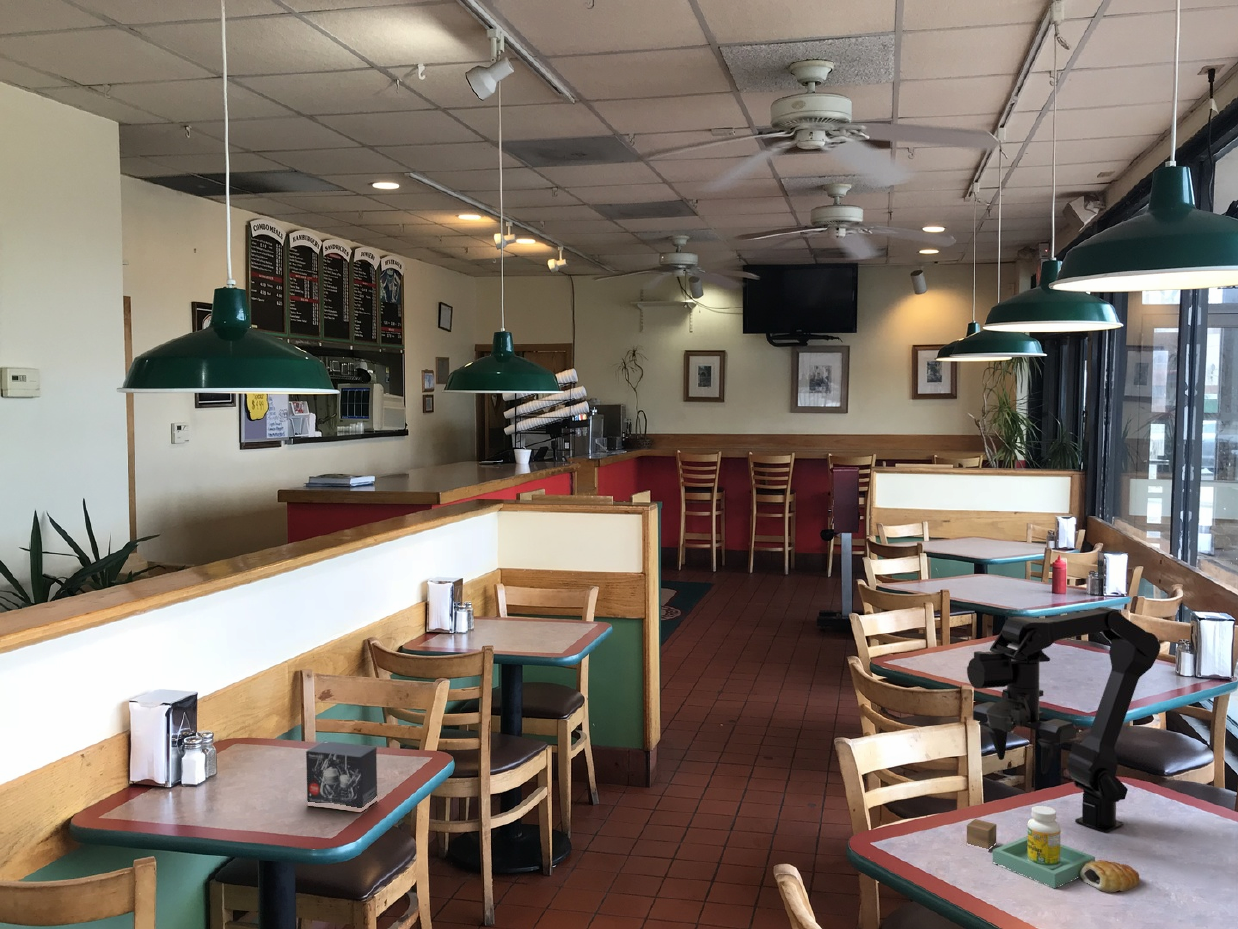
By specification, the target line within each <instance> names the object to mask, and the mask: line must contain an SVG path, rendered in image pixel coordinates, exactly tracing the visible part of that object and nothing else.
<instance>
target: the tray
mask: <svg viewBox="0 0 1238 929" xmlns="http://www.w3.org/2000/svg"><path fill="white" fill-rule="evenodd" d="M1027 840H1028V835H1027V836H1024V837H1022V838H1019V839H1017V840H1014V841H1012V842H1009V843H1006V844H1004V845H1000V846H999V847H996V848H992V863H993V862H995V863H997V864H999V865H1003V866H1005V867H1006V868H1009V869H1011V870H1012V871H1016V872H1018V873H1020V874H1023V875H1025V876H1027V877H1031V878H1032V879H1035V880H1037V881H1039V882H1041V883H1040V884H1042V883H1045V884H1047V885H1049V886H1051V887H1053V888H1052V889H1054V888H1055V889H1057V888H1056V887H1058V886H1060V885H1062V884H1064V883H1066V884H1068V882H1069V883H1071V882H1072V881H1071V880H1073V881H1075V880H1076V879H1075V878H1077V877H1080V871H1081V870H1082V868H1083V867H1084V866H1085V864H1088V863H1089V862H1090V861H1096V856H1095V855H1092V854H1089V853H1087V852H1083V851H1081V850H1078V849H1075V848H1073V847H1070V846H1067V845H1065V844H1062V843H1060V846H1061V847H1060V852H1061V855H1060V866H1059V867H1058V868H1056V869H1048V868H1045V867H1043V866H1040V865H1038V864H1035V863H1032V862H1030V861H1028V841H1027ZM1012 871H1011V872H1012ZM1020 874H1019V875H1020ZM1025 876H1024V877H1025ZM1027 877H1026V878H1027ZM1080 878H1081V877H1080ZM1032 879H1031V880H1032ZM1074 879H1075V880H1074ZM1037 881H1036V882H1037ZM1070 881H1071V882H1070ZM1039 882H1038V883H1039ZM1047 885H1046V886H1047ZM1064 885H1065V884H1064ZM1049 886H1048V887H1049ZM1062 886H1063V885H1062ZM1051 887H1050V888H1051ZM1060 887H1061V886H1060ZM1058 888H1059V887H1058Z"/></svg>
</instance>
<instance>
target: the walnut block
mask: <svg viewBox="0 0 1238 929" xmlns="http://www.w3.org/2000/svg"><path fill="white" fill-rule="evenodd" d="M967 843H968V844H971V845H974V846H979V847H982V848H986V849H989V848H990V847H991V846H994V844H995V843H996V844H997V824H996V823H993V822H989V821H985V820H981V819H978V818H974V819H973V820H972V821H970V822H969V823H968V824H966V844H967Z"/></svg>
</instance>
